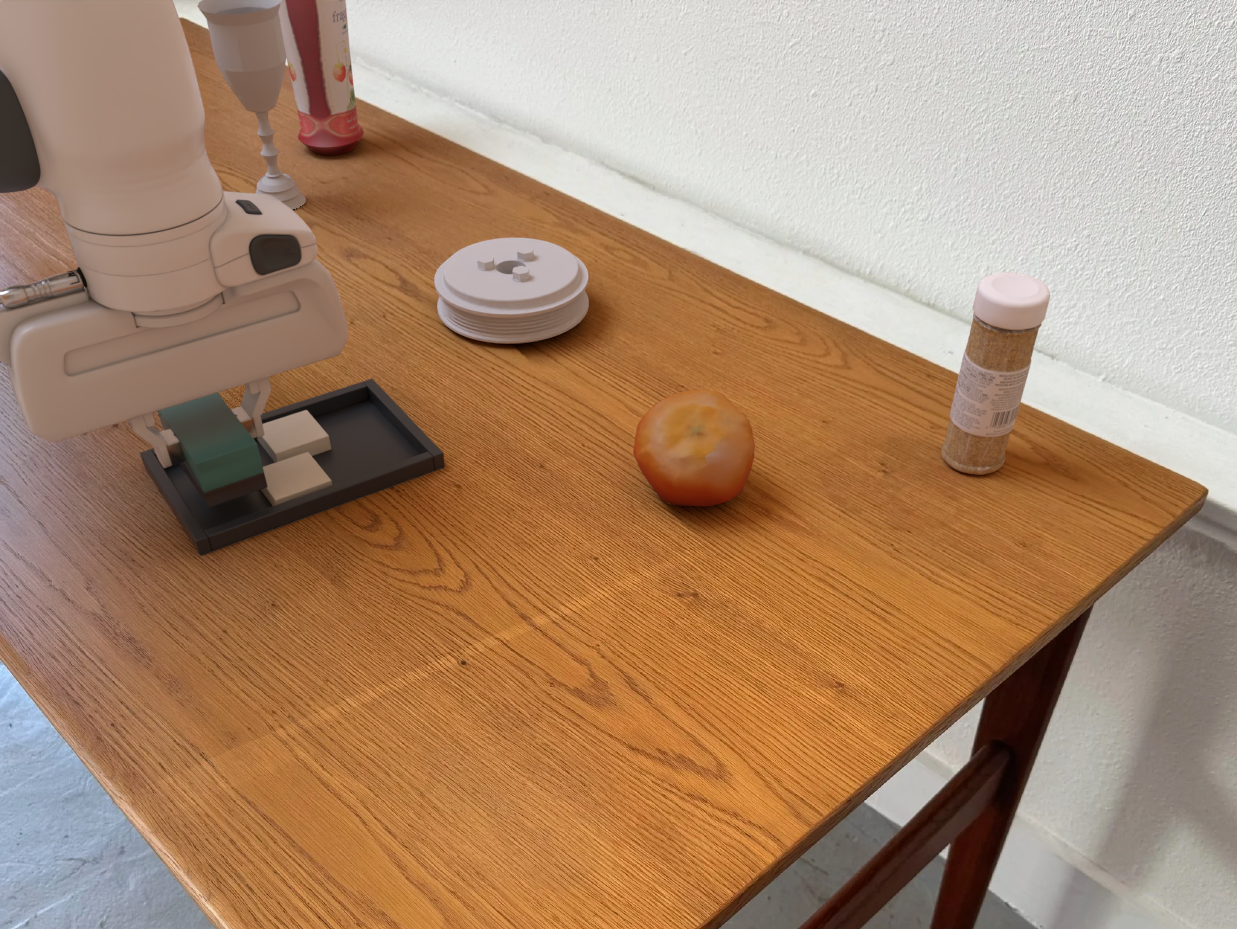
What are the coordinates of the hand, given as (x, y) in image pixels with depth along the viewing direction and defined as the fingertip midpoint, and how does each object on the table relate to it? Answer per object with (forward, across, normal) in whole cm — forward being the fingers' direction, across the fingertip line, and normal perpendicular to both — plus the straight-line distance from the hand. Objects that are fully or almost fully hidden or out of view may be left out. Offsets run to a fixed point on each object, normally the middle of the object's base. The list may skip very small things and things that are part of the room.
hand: (212, 447), depth 78 cm
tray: (+4, +5, 0) cm, 7 cm away
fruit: (+4, +27, -17) cm, 32 cm away
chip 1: (+4, +6, +3) cm, 8 cm away
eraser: (+2, 0, 0) cm, 2 cm away
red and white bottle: (+4, +31, +53) cm, 62 cm away
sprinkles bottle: (+4, +46, -25) cm, 53 cm away
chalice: (+4, +21, +43) cm, 48 cm away
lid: (+4, +29, +11) cm, 31 cm away
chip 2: (+4, +4, -2) cm, 6 cm away
